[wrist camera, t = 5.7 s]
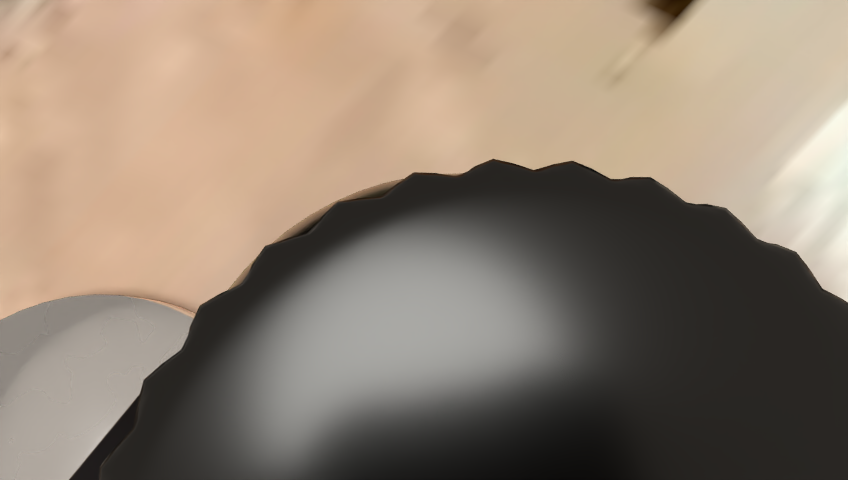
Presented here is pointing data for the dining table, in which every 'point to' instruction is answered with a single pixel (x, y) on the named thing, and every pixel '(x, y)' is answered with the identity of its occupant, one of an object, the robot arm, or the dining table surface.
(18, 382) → the metal plate
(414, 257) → the supplement bottle
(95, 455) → the robot arm
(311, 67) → the dining table surface
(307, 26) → the dining table surface
